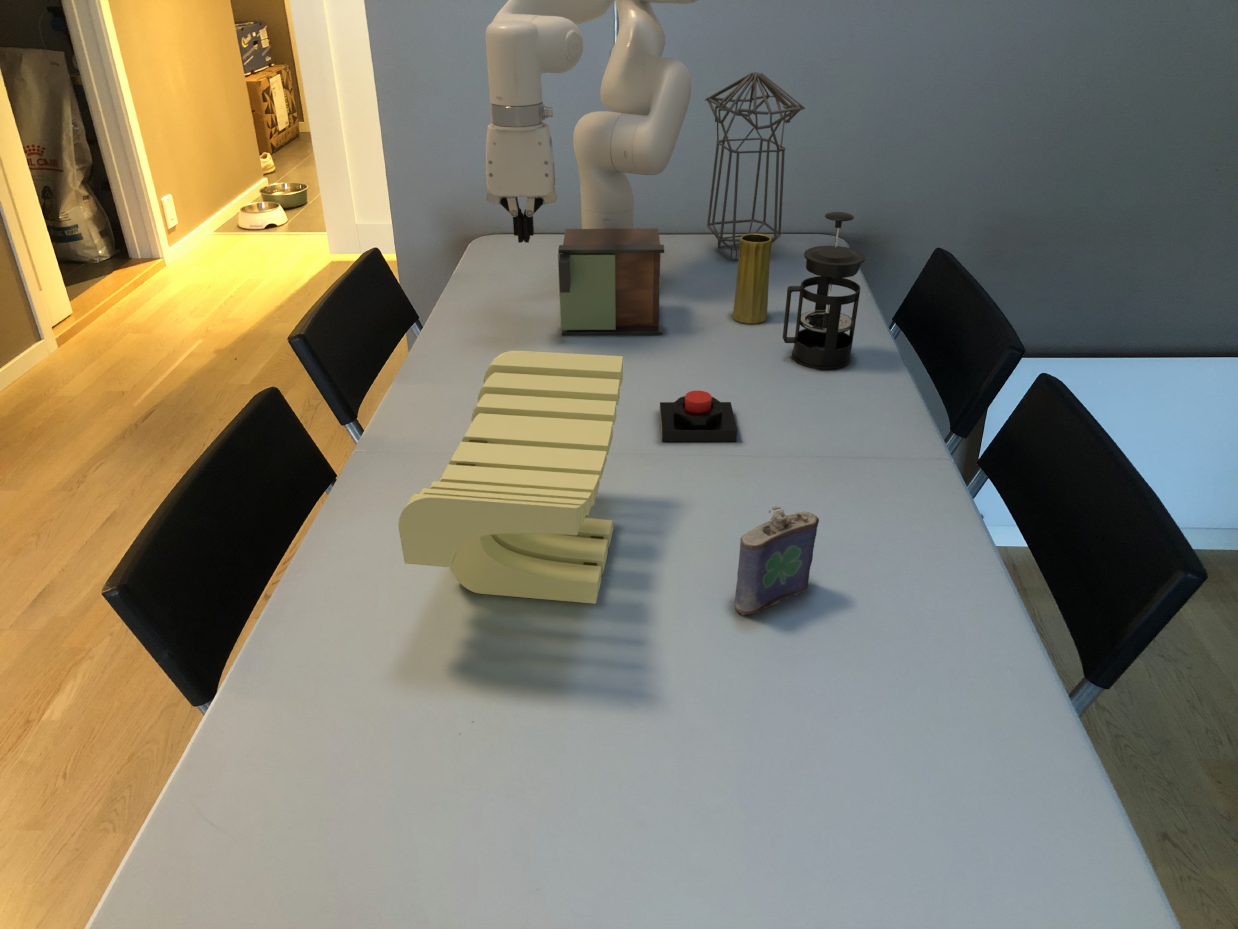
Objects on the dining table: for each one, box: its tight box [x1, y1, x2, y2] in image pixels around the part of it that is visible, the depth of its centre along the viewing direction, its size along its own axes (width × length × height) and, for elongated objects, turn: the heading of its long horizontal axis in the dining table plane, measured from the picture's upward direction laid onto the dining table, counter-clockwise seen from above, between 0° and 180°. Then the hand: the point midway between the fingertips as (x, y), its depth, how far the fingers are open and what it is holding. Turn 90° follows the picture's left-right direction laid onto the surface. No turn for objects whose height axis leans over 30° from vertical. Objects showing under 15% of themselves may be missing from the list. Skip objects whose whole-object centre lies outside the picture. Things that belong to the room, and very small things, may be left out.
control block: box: [659, 395, 738, 443], centre depth 118 cm, size 10×8×4 cm
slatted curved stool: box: [398, 350, 624, 605], centre depth 90 cm, size 30×16×18 cm, turn 172°
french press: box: [782, 211, 866, 371], centre depth 132 cm, size 12×9×23 cm
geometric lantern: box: [704, 71, 806, 261], centre depth 173 cm, size 16×16×35 cm
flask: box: [733, 505, 820, 616], centre depth 87 cm, size 9×3×11 cm, turn 121°
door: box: [557, 253, 616, 331], centre depth 141 cm, size 9×4×13 cm, turn 90°
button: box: [684, 390, 713, 413], centre depth 117 cm, size 4×4×2 cm
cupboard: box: [557, 228, 665, 336], centre depth 148 cm, size 17×13×15 cm
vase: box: [731, 232, 773, 325], centre depth 149 cm, size 6×6×14 cm
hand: (524, 239), depth 136 cm, fingers closed
